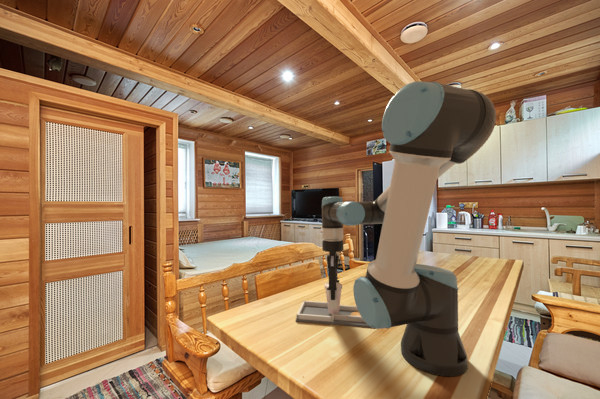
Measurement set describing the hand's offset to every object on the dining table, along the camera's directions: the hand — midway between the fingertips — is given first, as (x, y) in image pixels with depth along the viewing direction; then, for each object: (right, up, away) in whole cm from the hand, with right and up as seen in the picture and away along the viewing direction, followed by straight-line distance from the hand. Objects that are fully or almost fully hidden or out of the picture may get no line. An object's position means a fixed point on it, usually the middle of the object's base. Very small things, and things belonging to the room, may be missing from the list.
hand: (333, 304), depth 89 cm
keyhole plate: (+1, -4, 0) cm, 4 cm away
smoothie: (0, -3, 0) cm, 3 cm away
